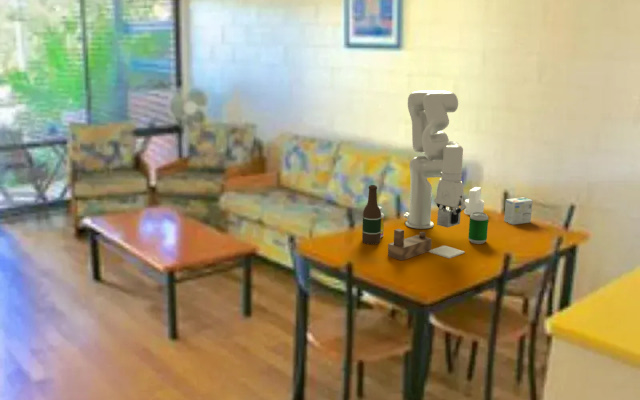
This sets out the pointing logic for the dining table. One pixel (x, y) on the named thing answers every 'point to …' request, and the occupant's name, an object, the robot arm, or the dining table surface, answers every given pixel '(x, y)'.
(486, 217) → the soda can
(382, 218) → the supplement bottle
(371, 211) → the beer bottle
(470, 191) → the base with upright slab
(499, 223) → the dining table surface
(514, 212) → the light bulb box
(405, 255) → the body
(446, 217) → the grey stone box
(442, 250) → the felt pad
